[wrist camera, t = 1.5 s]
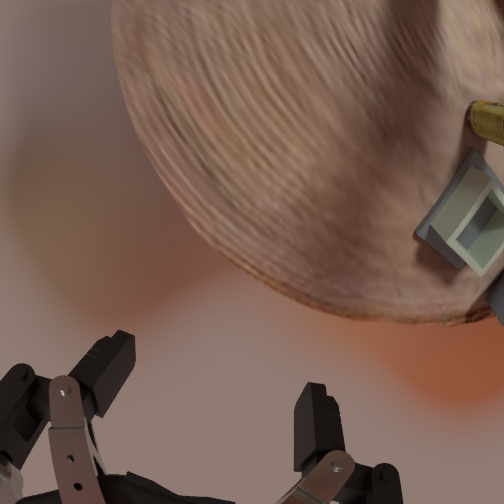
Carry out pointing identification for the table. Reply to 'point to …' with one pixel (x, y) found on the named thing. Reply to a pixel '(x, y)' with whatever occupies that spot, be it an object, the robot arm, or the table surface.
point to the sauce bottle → (487, 120)
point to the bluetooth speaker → (497, 300)
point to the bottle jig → (468, 217)
